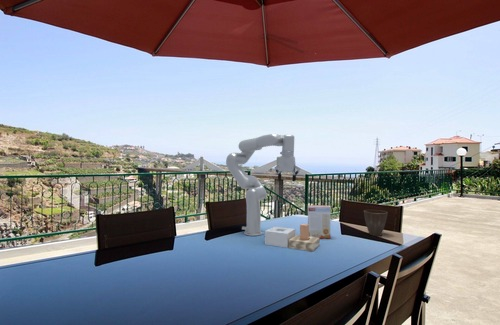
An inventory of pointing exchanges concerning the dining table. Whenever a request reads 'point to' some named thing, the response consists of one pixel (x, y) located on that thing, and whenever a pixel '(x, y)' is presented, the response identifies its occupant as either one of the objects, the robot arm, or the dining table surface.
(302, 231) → the plug
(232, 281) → the dining table surface
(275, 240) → the upper socket
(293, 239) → the lower socket
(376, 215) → the plant pot
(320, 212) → the cracker box
